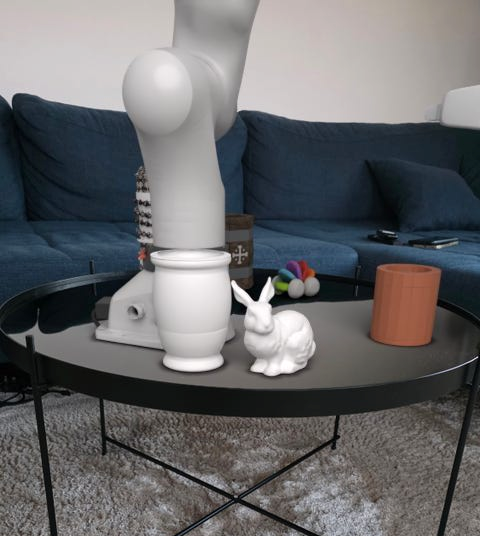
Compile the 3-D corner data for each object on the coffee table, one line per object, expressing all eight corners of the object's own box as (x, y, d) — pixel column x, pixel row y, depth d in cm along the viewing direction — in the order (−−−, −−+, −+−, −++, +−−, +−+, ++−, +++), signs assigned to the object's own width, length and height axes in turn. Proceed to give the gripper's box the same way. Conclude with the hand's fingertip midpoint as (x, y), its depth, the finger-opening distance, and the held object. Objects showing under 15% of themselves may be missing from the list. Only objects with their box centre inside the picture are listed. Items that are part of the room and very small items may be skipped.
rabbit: (262, 383, 76) (264, 289, 71) (219, 365, 82) (218, 277, 78) (329, 366, 82) (335, 278, 78) (284, 350, 89) (288, 268, 84)
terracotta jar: (368, 343, 93) (375, 272, 88) (371, 328, 101) (378, 262, 97) (432, 348, 91) (442, 275, 86) (429, 332, 99) (439, 265, 95)
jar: (140, 368, 81) (133, 254, 75) (181, 348, 89) (178, 245, 83) (207, 380, 76) (205, 261, 70) (244, 359, 85) (245, 251, 79)
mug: (247, 279, 142) (248, 213, 136) (260, 290, 130) (261, 218, 124) (165, 281, 139) (162, 213, 133) (170, 293, 127) (167, 219, 121)
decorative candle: (186, 305, 116) (182, 166, 106) (138, 306, 115) (130, 165, 105) (183, 295, 125) (179, 165, 114) (138, 296, 123) (131, 165, 113)
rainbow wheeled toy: (325, 296, 125) (327, 261, 122) (289, 301, 120) (290, 265, 117) (299, 289, 131) (301, 255, 128) (264, 294, 126) (265, 259, 123)
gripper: (590, 86, 76) (489, 94, 86) (516, 71, 64) (407, 82, 73) (579, 140, 79) (481, 142, 88) (505, 136, 67) (401, 138, 76)
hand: (447, 115), depth 81 cm, fingers open, 8 cm apart
